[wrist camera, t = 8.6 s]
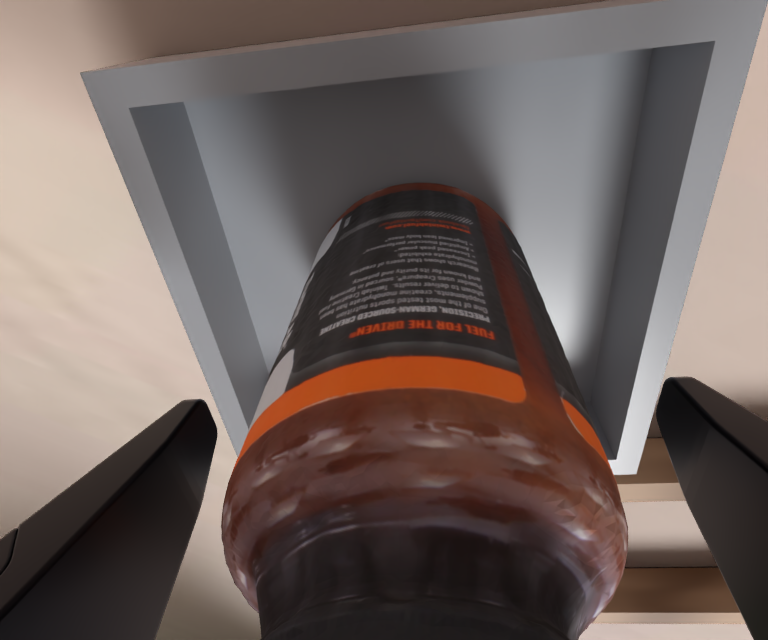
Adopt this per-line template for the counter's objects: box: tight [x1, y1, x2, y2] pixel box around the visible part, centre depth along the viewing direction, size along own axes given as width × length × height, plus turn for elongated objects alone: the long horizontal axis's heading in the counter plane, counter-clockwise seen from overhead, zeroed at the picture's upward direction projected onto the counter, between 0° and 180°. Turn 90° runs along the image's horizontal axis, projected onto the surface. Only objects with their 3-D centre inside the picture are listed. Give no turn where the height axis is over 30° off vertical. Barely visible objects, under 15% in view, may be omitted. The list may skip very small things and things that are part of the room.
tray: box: [80, 0, 768, 475], centre depth 13 cm, size 12×12×3 cm
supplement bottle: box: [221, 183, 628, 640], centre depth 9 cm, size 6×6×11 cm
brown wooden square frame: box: [593, 438, 746, 624], centre depth 20 cm, size 10×10×2 cm
